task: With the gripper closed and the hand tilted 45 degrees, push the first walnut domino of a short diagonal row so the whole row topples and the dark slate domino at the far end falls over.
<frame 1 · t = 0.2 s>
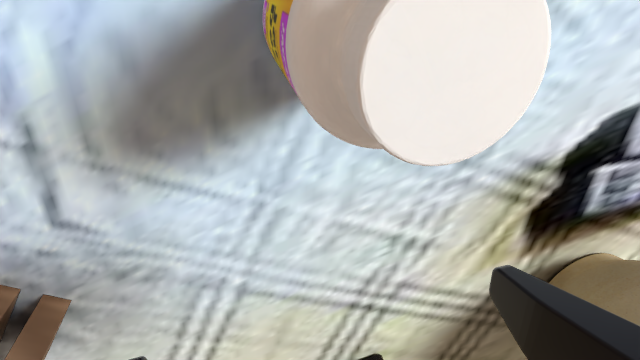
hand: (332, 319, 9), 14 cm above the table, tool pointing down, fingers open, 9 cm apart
planter bowl: (575, 287, 36), on the table
domino 1: (46, 323, 24), on the table
supplement bottle: (323, 20, 19), on the table
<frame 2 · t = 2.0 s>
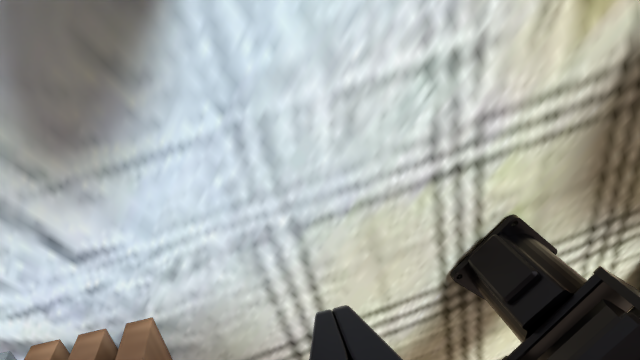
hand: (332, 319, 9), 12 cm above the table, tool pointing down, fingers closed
domino 1: (152, 346, 24), on the table
domino 2: (107, 357, 24), on the table
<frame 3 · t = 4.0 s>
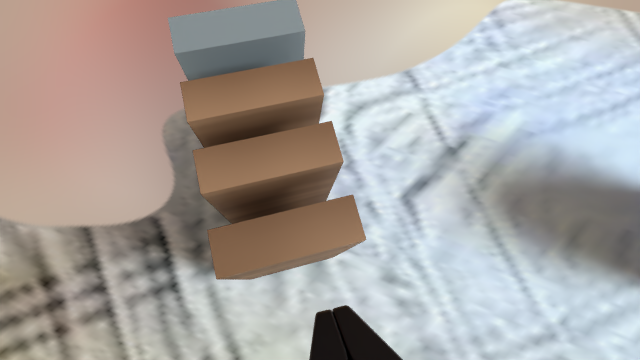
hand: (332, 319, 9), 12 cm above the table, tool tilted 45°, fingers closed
domino 4: (259, 128, 24), on the table
domino 3: (268, 169, 23), on the table
domino 1: (289, 254, 22), on the table
domino 2: (278, 209, 22), on the table
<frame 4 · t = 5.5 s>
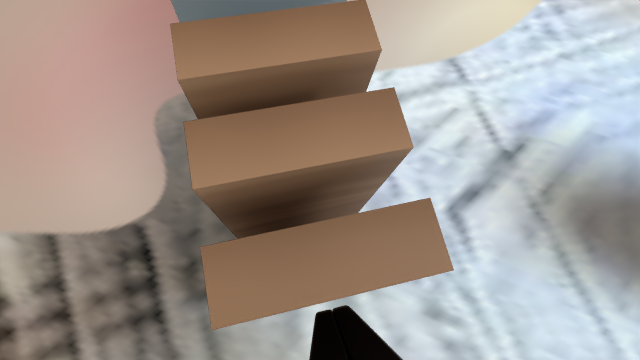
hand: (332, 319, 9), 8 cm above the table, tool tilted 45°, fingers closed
domino 4: (273, 120, 19), on the table
domino 3: (283, 169, 18), on the table
domino 1: (306, 278, 17), on the table
domino 2: (294, 220, 18), on the table
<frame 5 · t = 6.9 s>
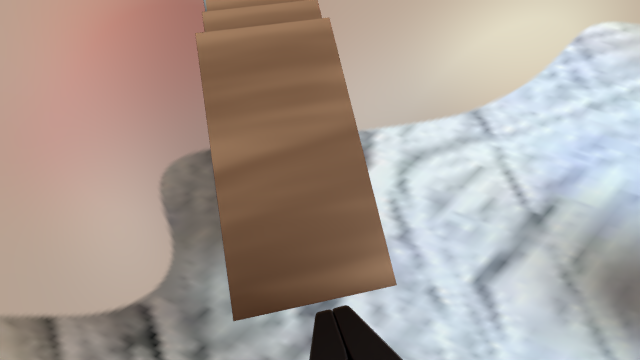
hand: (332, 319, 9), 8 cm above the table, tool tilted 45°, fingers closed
domino 3: (294, 190, 16), point 2 cm above the table, tilted 90°, touching domino 2, domino 4
domino 1: (315, 301, 12), point 5 cm above the table, tilted 89°, touching domino 2
domino 2: (304, 235, 14), point 4 cm above the table, tilted 89°, touching domino 1, domino 3
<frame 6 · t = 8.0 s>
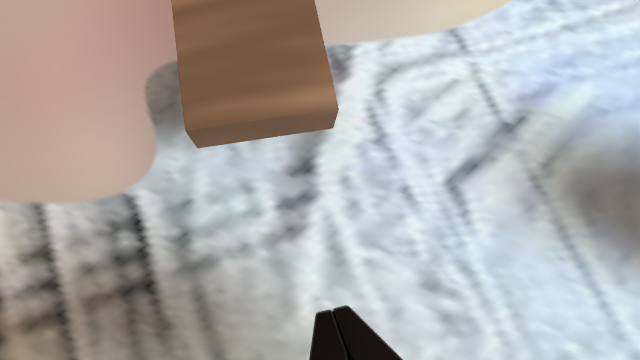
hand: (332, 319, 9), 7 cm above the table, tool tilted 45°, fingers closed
domino 1: (265, 129, 13), point 5 cm above the table, tilted 89°, touching domino 2
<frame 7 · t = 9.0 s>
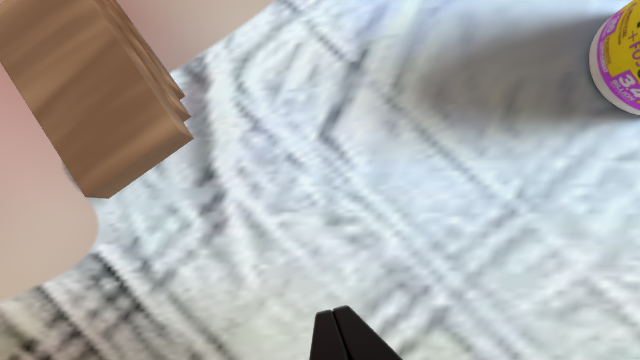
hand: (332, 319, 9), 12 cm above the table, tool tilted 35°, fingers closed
domino 3: (143, 117, 20), point 2 cm above the table, tilted 90°, touching domino 2, domino 4
domino 1: (142, 166, 17), point 5 cm above the table, tilted 90°, touching domino 2
domino 2: (144, 141, 18), point 4 cm above the table, tilted 90°, touching domino 1, domino 3
supplement bottle: (637, 66, 21), on the table
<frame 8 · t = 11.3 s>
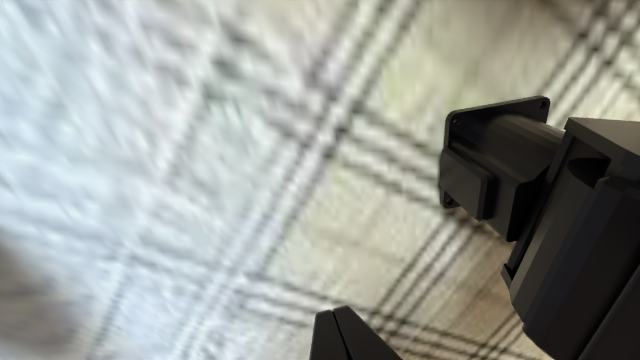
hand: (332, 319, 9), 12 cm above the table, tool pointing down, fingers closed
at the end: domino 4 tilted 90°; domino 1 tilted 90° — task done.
